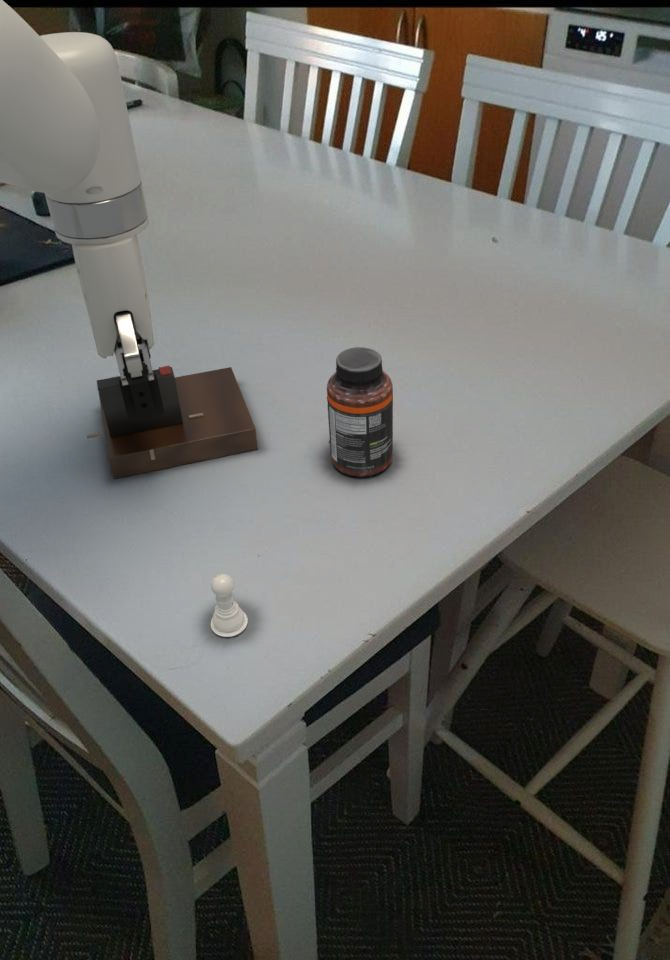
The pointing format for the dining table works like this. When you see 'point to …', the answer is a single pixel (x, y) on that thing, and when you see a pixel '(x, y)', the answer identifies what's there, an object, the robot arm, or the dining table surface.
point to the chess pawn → (226, 608)
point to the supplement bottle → (360, 413)
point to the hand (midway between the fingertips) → (140, 387)
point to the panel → (188, 428)
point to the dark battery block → (123, 425)
